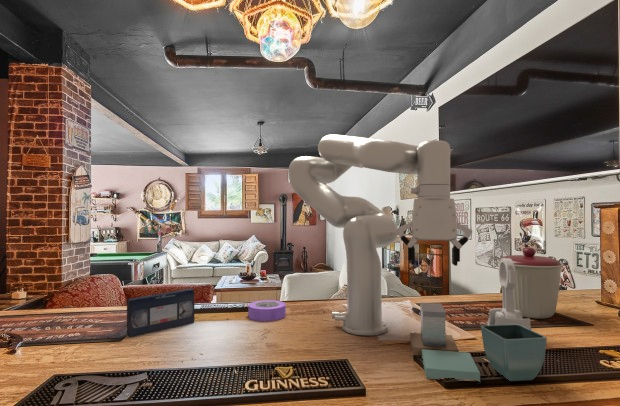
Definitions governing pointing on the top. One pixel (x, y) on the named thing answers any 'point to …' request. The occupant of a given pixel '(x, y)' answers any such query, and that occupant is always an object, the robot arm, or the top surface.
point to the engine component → (507, 298)
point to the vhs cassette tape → (159, 312)
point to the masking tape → (266, 310)
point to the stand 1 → (418, 346)
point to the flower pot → (514, 350)
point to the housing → (433, 325)
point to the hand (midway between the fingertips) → (433, 264)
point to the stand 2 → (449, 365)
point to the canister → (535, 284)
